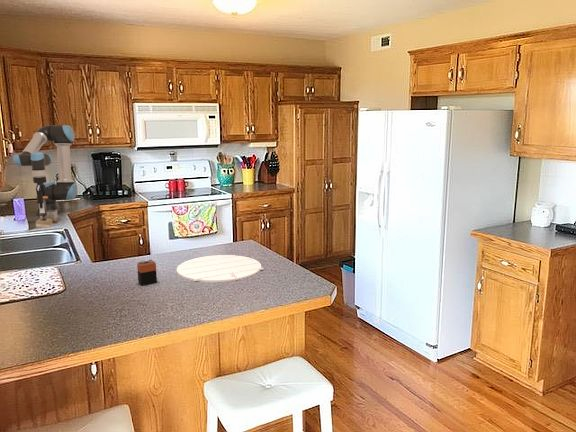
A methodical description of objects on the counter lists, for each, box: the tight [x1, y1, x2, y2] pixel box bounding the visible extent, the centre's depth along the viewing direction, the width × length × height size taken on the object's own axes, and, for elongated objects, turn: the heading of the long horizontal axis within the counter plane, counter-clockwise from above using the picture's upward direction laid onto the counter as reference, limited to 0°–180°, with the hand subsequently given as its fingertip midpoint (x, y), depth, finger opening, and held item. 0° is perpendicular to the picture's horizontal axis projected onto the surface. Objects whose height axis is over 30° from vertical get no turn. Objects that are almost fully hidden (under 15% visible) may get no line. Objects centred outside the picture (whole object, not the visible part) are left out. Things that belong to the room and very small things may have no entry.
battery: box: [136, 259, 158, 287], centre depth 201 cm, size 4×7×10 cm, turn 126°
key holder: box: [35, 218, 53, 229], centre depth 311 cm, size 8×8×4 cm
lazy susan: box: [176, 254, 265, 283], centre depth 222 cm, size 40×39×3 cm
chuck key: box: [34, 196, 48, 221], centre depth 309 cm, size 4×8×16 cm, turn 104°
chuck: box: [39, 210, 62, 224], centre depth 324 cm, size 12×12×8 cm
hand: (43, 212), depth 310 cm, fingers closed on chuck key, 4 cm apart
